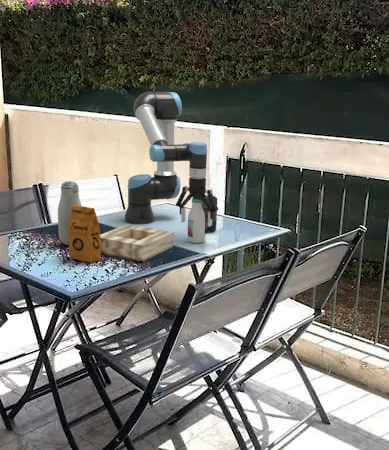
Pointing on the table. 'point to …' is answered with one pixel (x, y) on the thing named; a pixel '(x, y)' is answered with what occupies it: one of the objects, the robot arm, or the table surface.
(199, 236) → the milk bottle
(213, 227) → the canister
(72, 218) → the coffee package
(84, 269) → the table surface
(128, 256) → the well block
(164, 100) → the robot arm
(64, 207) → the glass bottle
